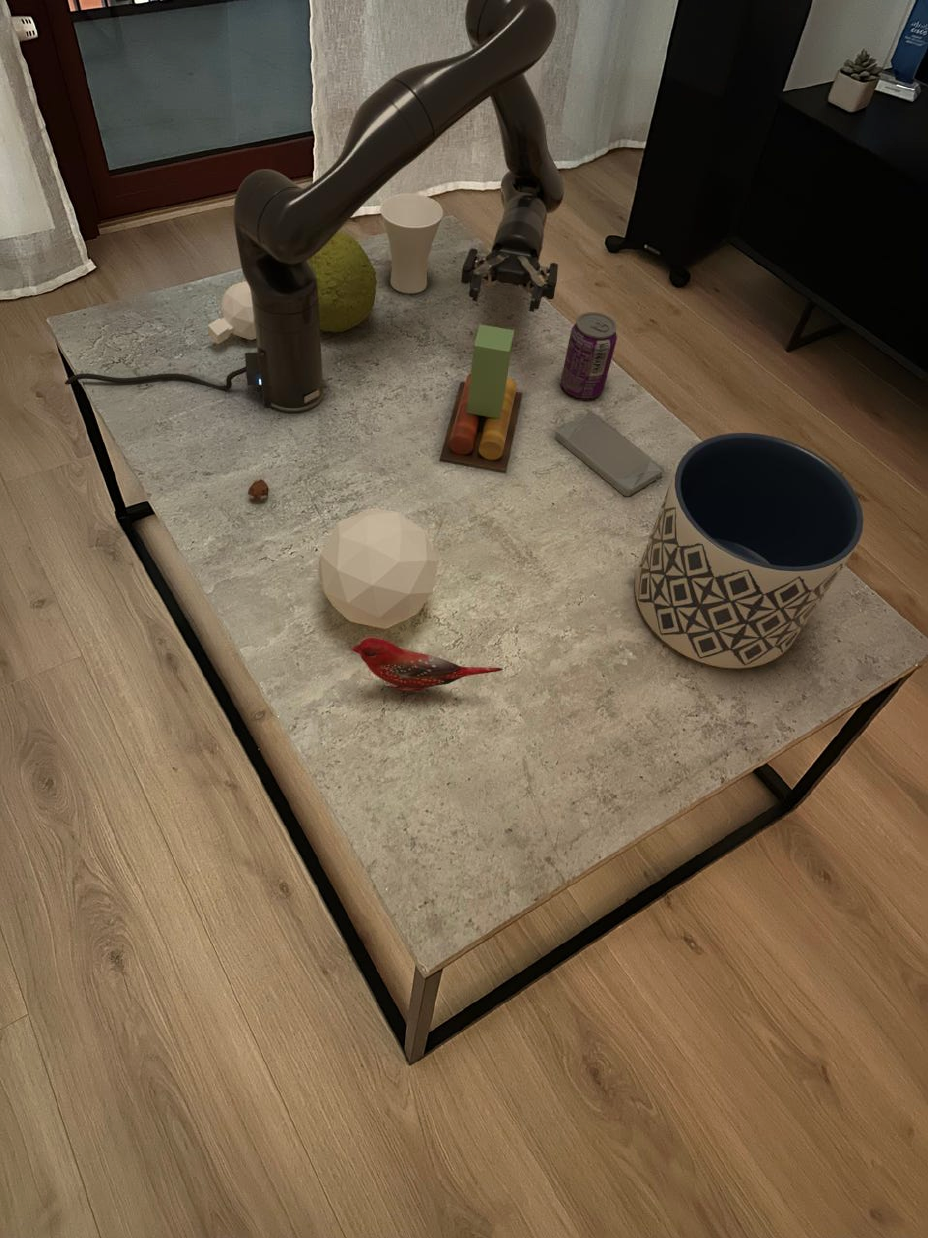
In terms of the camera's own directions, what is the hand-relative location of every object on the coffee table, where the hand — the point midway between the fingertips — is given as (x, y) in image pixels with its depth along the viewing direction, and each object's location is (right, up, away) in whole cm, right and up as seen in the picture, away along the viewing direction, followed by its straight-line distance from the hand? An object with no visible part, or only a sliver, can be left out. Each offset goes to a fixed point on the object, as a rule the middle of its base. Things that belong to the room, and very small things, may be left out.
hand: (503, 301), depth 132 cm
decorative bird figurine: (-11, -56, -23) cm, 61 cm away
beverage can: (+13, -9, +14) cm, 21 cm away
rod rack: (-3, -17, +6) cm, 18 cm away
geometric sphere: (-17, -45, -16) cm, 50 cm away
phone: (+16, -22, +5) cm, 28 cm away
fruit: (-28, +4, +19) cm, 34 cm away
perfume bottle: (-42, -1, +14) cm, 44 cm away
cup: (-16, +13, +27) cm, 34 cm away
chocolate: (-34, -30, -7) cm, 46 cm away
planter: (+28, -45, -11) cm, 54 cm away
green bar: (-3, -15, +3) cm, 15 cm away
